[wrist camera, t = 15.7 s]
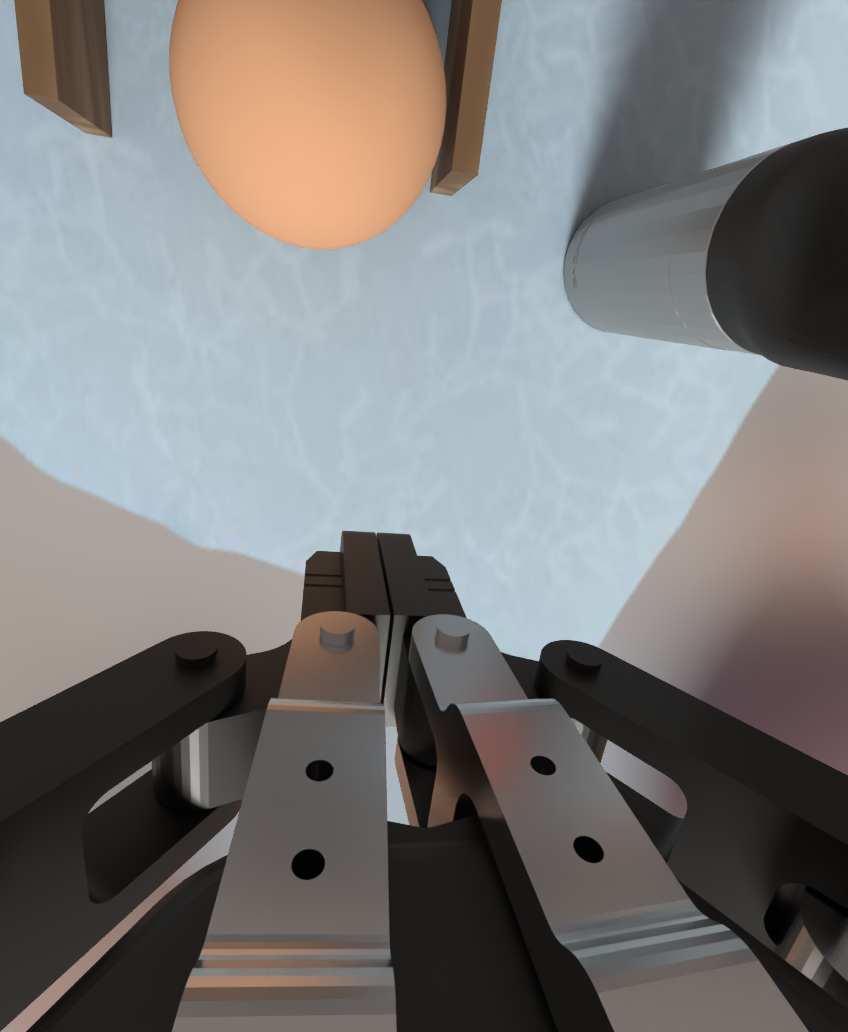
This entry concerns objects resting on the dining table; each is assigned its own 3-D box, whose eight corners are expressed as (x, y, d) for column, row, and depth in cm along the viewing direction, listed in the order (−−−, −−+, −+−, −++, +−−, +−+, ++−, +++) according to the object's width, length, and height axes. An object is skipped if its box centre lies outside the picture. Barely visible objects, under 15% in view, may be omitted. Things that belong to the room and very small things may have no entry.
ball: (371, 241, 42) (393, -9, 35) (468, 279, 32) (528, -64, 24) (165, 218, 35) (141, -95, 28) (203, 256, 25) (181, -219, 18)
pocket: (483, -57, 34) (521, -145, 27) (451, 195, 39) (477, 175, 32) (63, -166, 30) (-18, -304, 23) (85, 133, 34) (24, 93, 28)
